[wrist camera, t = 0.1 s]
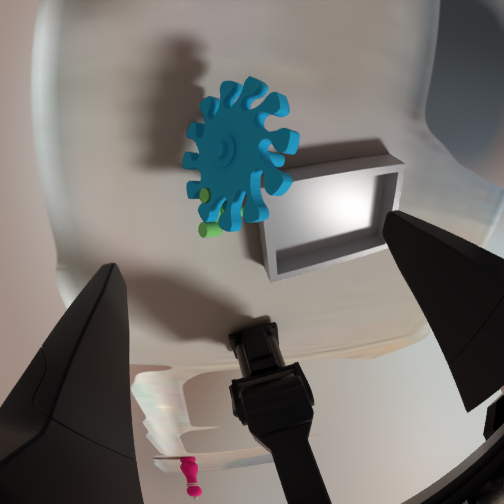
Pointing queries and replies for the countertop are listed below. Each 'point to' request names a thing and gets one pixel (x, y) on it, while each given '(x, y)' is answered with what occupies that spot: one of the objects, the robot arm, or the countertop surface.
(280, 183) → the gear
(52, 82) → the countertop surface
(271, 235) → the tray
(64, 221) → the countertop surface
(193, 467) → the pepper mill
